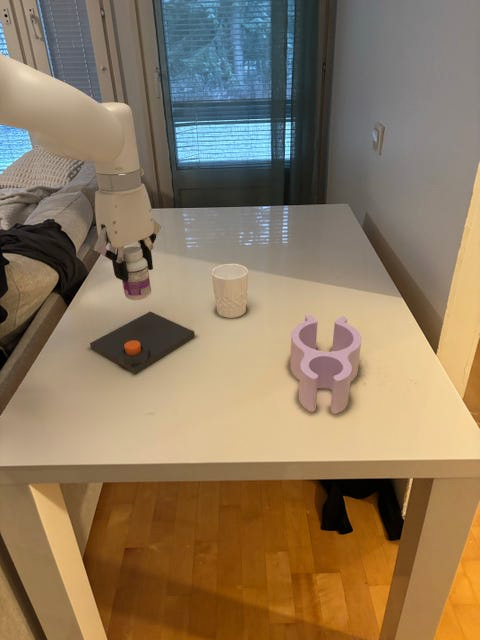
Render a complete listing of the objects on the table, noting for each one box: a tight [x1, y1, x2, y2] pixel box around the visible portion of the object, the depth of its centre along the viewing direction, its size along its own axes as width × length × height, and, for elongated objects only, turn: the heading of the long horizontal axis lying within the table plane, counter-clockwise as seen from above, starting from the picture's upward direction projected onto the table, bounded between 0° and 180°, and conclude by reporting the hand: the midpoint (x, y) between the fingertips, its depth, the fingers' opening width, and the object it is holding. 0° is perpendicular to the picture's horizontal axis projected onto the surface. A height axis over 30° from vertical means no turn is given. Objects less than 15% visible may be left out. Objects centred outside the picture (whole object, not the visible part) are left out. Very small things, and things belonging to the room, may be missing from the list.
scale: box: [89, 311, 196, 375], centre depth 95 cm, size 16×14×3 cm
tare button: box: [124, 340, 141, 355], centre depth 89 cm, size 3×3×2 cm
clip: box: [289, 314, 362, 415], centre depth 84 cm, size 20×12×7 cm, turn 171°
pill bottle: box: [121, 246, 152, 301], centre depth 91 cm, size 5×5×10 cm
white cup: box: [211, 263, 249, 319], centre depth 104 cm, size 8×8×10 cm
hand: (134, 272), depth 91 cm, fingers closed on pill bottle, 5 cm apart
